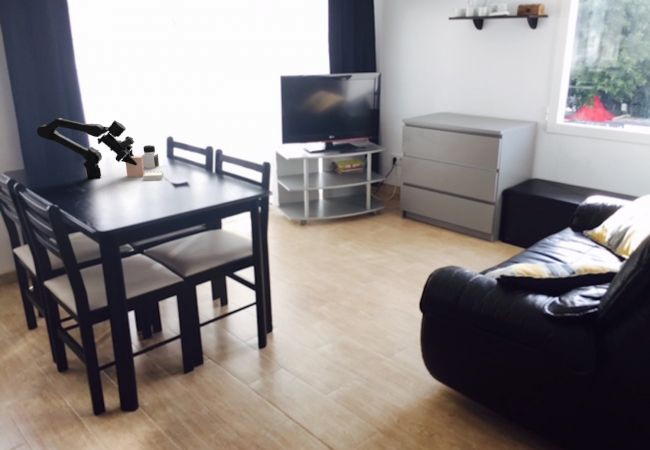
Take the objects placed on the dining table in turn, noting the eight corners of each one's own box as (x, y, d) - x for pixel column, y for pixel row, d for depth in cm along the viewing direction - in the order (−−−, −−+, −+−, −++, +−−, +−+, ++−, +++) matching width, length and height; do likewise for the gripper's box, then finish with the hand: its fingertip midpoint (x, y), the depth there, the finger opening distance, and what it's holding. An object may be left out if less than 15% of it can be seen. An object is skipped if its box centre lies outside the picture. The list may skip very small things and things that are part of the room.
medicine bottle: (155, 168, 314) (153, 146, 311) (142, 168, 315) (140, 146, 311) (159, 165, 321) (157, 144, 317) (146, 165, 321) (144, 144, 318)
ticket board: (143, 180, 287) (143, 175, 287) (146, 176, 295) (145, 171, 294) (161, 179, 289) (161, 174, 288) (163, 176, 296) (163, 171, 295)
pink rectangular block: (127, 176, 294) (125, 157, 291) (128, 175, 298) (126, 156, 294) (143, 176, 295) (141, 157, 292) (144, 174, 299) (142, 155, 296)
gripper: (119, 135, 280) (144, 156, 285) (126, 129, 297) (150, 149, 302) (104, 151, 281) (130, 172, 286) (112, 144, 299) (136, 164, 304)
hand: (137, 163), depth 295 cm, fingers closed on pink rectangular block, 4 cm apart
